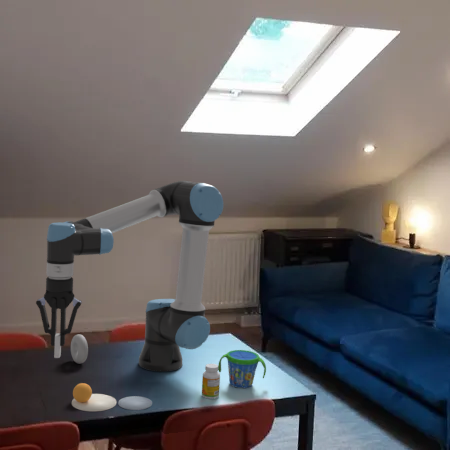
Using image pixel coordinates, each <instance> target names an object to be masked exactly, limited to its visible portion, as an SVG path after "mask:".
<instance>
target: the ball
mask: <svg viewBox="0 0 450 450" xmlns="http://www.w3.org/2000/svg"><path fill="white" fill-rule="evenodd" d="M92 394H93V390H92V388H91V386H90V385H89V384H87V383H85V382H84V383H83V382H80V383H77V384H76V385H75V387H74V388H73V390H72V396H73V399H74V398H75V400H76V401H78V402H86V401H88V400H89V399H90V397H91V395H92Z"/></svg>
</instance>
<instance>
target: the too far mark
mask: <svg viewBox="0 0 450 450" xmlns="http://www.w3.org/2000/svg"><path fill="white" fill-rule="evenodd" d="M117 405H118V406H119V407H120V408H122V409H125V410H128V411H129V410H131V411H140V410H146V409H149V408H150V407H151V406H152V405H153V401H152V400H151V399H149V398H147V397H144V396H139V395H137V396H136V395H135V396H134V395H133V396H126V397H123V398H121V399H119V400H118V401H117Z"/></svg>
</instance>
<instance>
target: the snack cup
mask: <svg viewBox="0 0 450 450" xmlns="http://www.w3.org/2000/svg"><path fill="white" fill-rule="evenodd" d="M224 358H226V359H227V367H228V368H227V369H228V376H229V377H228V381H229V384H230V385H231V386H232V387H234V388H243V389H246V388H250V387H252V386H253V384H254V379H255V375H256V371H257V369H258V368H257V367H258V365H259V363H261V365H262V366H263V369H264V370H263V375H262V379H264V378H265V376H266V372H267V365H266V361H264V359H262V358H261V357H260V356H259V354H258V353H256V352H254V351H250V350H245V349H244V350H243V349H235V350H230V351H228V352H226V353H225V354H223V355H222V356H221V357H220V359H219V361H218V364H217V365H218V372H219V373H221V372H222V359H224Z"/></svg>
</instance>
